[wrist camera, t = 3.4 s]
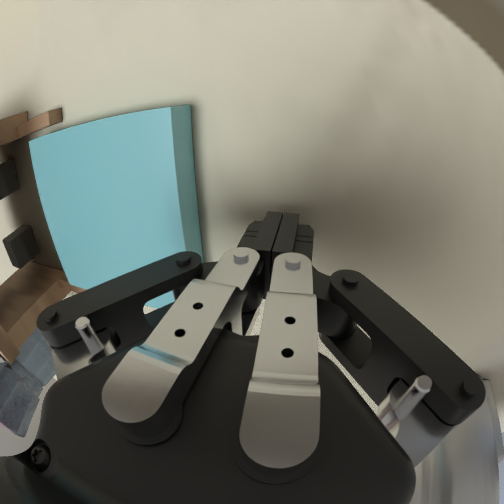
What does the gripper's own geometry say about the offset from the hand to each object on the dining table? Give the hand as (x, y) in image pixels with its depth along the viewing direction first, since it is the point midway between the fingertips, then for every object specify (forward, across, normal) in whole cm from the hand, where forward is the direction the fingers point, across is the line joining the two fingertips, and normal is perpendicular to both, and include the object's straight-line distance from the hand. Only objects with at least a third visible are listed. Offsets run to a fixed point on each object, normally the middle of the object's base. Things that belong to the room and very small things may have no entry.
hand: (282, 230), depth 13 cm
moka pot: (+1, +34, +21) cm, 40 cm away
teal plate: (+2, +11, 0) cm, 11 cm away
